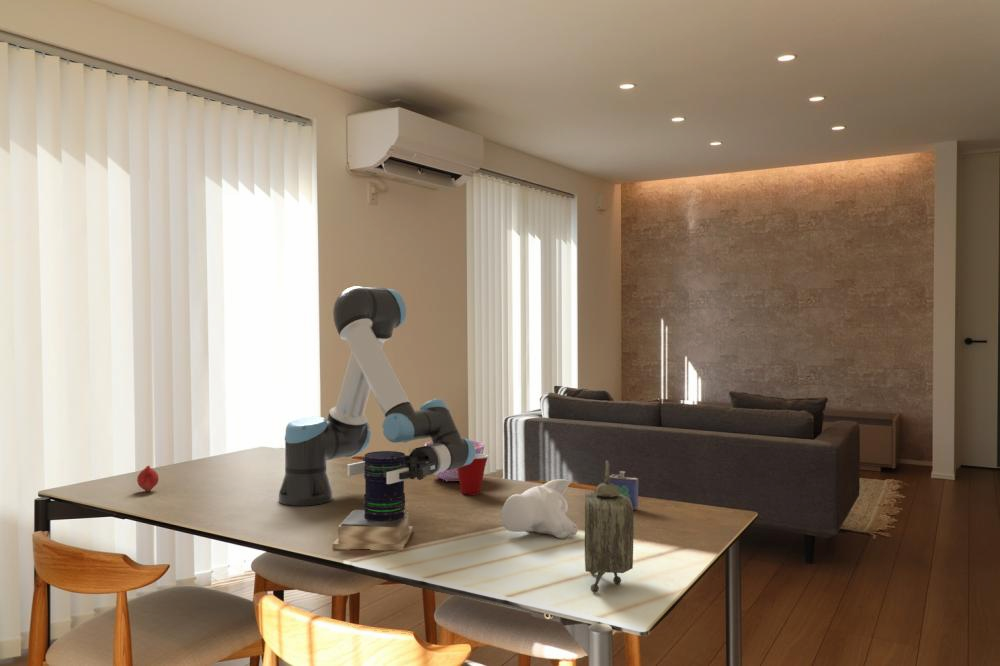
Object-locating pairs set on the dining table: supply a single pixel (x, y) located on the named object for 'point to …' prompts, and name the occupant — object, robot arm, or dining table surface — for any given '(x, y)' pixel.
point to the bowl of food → (453, 474)
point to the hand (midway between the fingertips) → (367, 474)
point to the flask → (626, 487)
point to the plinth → (372, 533)
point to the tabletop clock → (608, 531)
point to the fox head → (539, 510)
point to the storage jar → (383, 487)
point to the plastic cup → (472, 475)
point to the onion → (147, 478)
